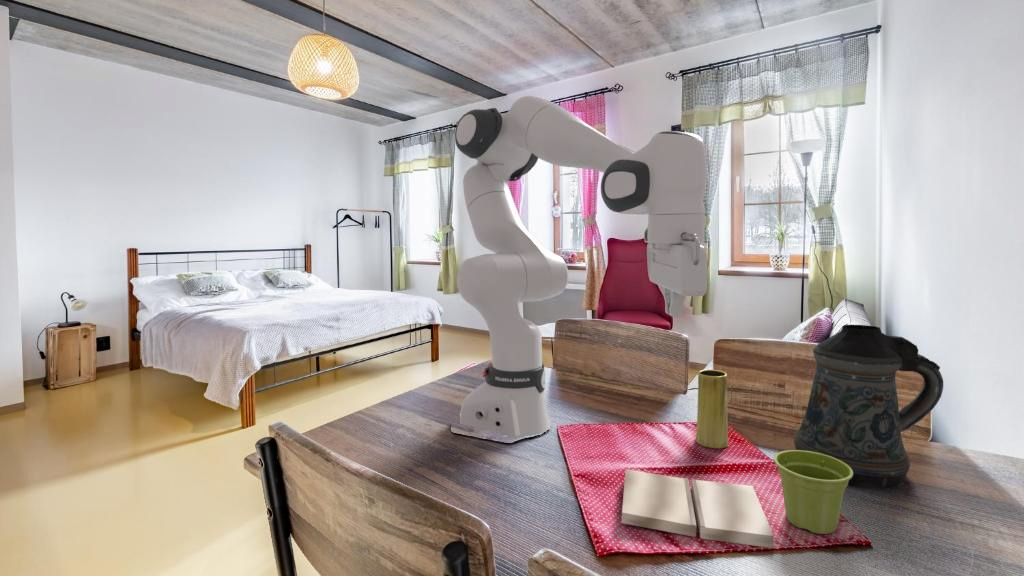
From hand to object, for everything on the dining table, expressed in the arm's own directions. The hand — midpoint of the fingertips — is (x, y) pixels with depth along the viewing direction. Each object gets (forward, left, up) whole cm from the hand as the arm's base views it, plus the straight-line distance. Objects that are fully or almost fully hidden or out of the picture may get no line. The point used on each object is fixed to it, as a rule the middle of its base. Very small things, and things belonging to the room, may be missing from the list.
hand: (673, 315), depth 79 cm
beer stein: (+31, +10, -28) cm, 43 cm away
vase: (+8, +15, -28) cm, 33 cm away
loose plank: (-3, -11, -28) cm, 30 cm away
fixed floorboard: (+7, -11, -28) cm, 31 cm away
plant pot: (+18, -10, -28) cm, 35 cm away
